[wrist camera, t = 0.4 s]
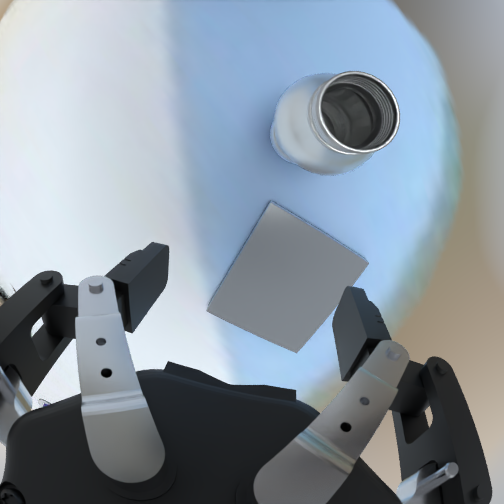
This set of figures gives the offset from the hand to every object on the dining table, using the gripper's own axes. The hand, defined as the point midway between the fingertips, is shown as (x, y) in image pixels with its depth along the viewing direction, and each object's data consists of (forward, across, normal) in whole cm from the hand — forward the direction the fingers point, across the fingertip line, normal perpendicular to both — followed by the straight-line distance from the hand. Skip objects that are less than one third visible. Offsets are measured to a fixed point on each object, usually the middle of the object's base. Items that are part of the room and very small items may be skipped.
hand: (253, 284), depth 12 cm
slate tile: (+20, -4, +11) cm, 23 cm away
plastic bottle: (+21, -2, -7) cm, 22 cm away
